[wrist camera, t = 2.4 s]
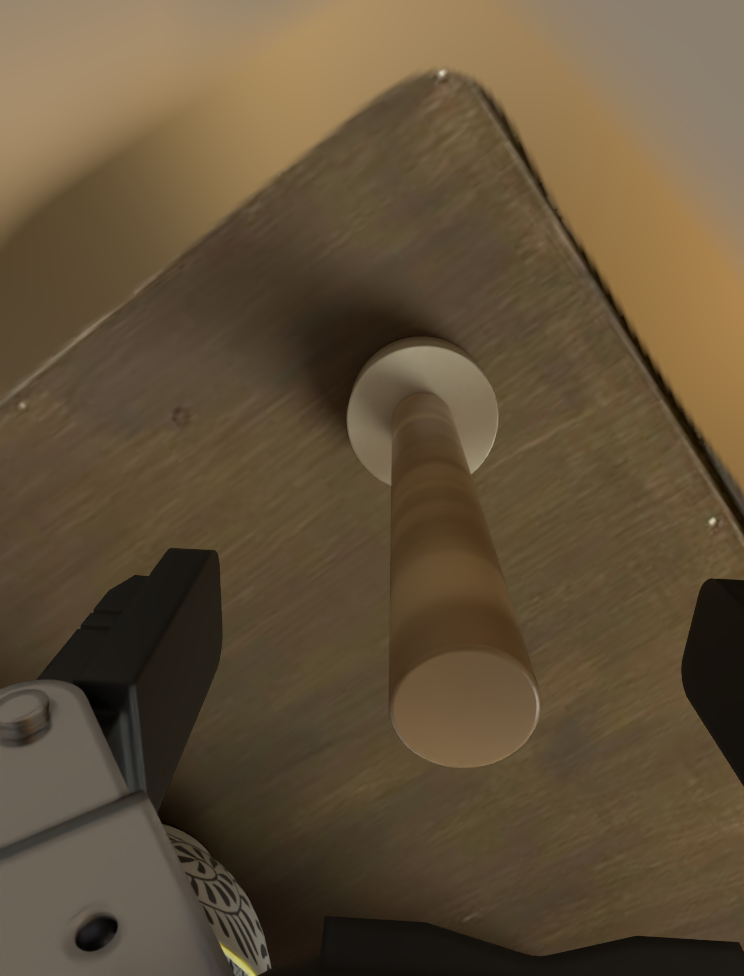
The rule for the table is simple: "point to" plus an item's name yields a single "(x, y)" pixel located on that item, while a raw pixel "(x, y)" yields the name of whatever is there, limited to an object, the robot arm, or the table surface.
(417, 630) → the wooden peg stand
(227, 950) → the bowl
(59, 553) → the table surface
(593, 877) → the table surface
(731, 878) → the table surface
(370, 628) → the table surface
